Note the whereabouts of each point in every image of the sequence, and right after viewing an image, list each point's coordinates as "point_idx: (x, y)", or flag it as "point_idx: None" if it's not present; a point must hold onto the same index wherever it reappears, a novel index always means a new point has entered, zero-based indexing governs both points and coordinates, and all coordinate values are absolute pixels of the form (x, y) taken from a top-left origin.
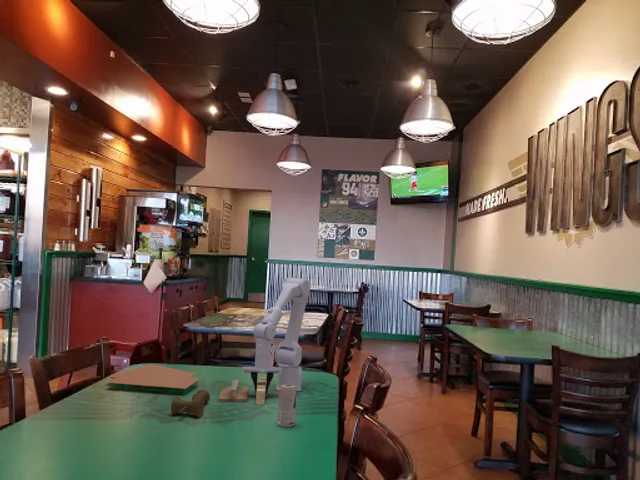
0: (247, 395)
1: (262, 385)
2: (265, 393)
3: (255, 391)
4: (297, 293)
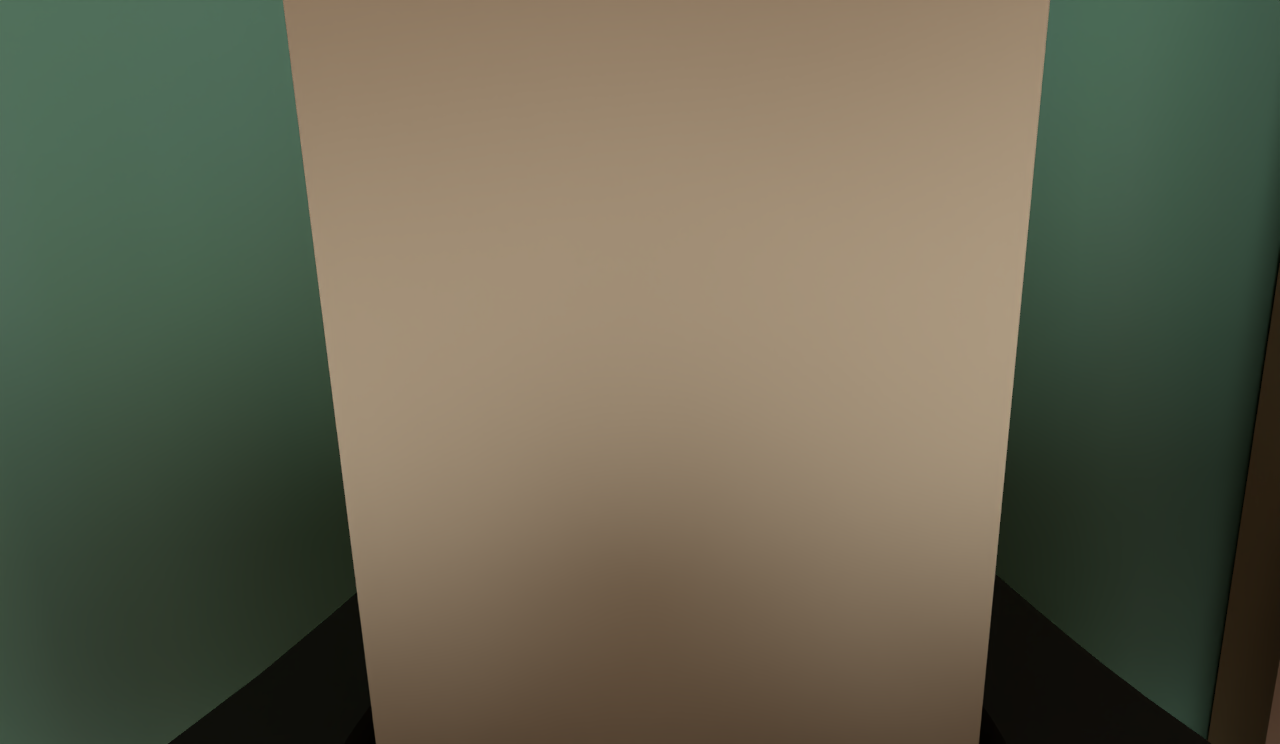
0: (1252, 570)
1: (596, 582)
2: None
3: None
4: None
